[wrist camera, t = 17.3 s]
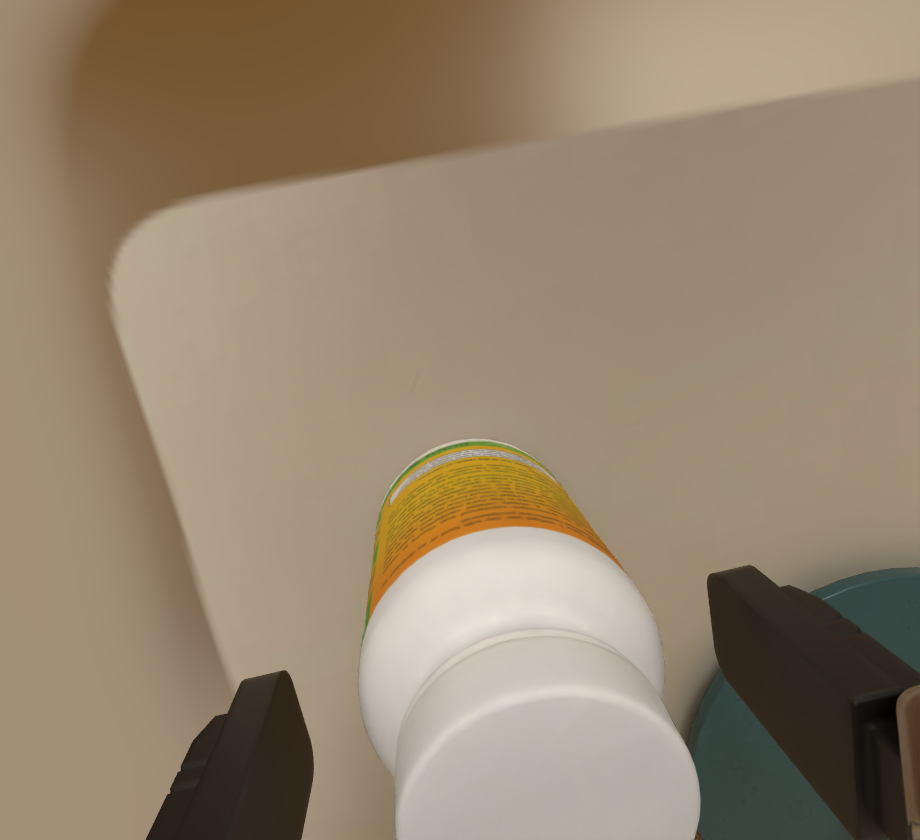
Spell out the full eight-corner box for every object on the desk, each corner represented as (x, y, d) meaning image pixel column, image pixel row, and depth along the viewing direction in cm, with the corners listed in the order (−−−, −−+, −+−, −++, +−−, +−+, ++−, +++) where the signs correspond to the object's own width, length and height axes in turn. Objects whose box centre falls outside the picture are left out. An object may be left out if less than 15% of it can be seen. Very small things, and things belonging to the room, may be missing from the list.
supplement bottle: (342, 486, 16) (252, 758, 7) (520, 401, 16) (671, 562, 7) (428, 641, 18) (450, 1050, 8) (593, 563, 18) (808, 887, 8)
